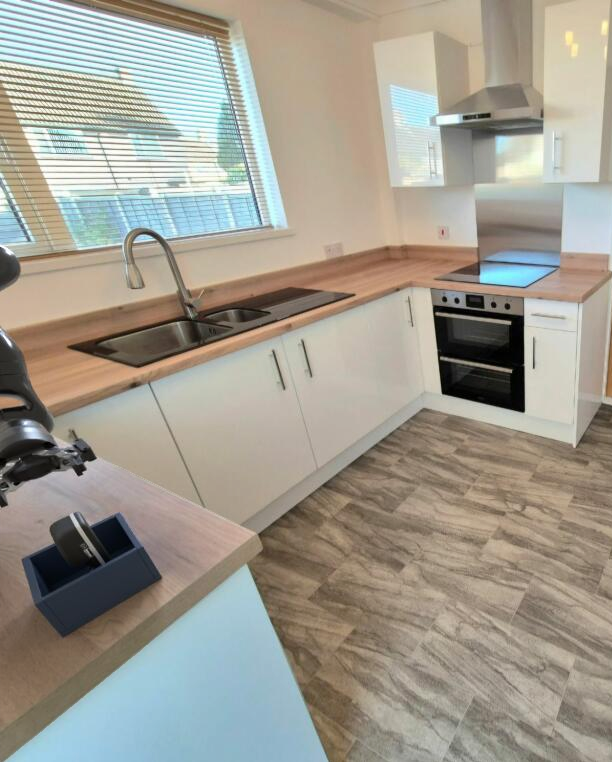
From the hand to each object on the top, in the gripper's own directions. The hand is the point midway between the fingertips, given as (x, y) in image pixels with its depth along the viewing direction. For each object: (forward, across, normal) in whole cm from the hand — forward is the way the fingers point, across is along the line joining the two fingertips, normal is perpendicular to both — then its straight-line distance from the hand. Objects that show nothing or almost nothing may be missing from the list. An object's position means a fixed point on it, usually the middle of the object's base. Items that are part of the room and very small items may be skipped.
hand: (41, 485), depth 65 cm
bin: (+11, 0, -14) cm, 18 cm away
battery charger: (+11, 0, -14) cm, 17 cm away
